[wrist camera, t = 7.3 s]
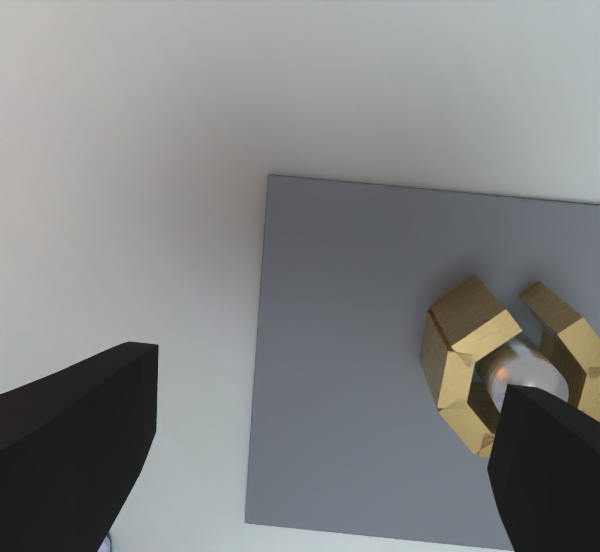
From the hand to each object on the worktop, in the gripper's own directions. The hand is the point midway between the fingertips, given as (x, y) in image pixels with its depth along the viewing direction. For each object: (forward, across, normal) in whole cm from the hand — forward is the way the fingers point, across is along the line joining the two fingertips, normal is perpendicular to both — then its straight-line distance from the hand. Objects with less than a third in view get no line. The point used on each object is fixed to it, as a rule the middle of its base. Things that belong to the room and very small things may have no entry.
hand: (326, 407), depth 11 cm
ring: (+9, -7, +2) cm, 12 cm away
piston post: (+10, -7, +2) cm, 12 cm away
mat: (+10, -4, +4) cm, 11 cm away
